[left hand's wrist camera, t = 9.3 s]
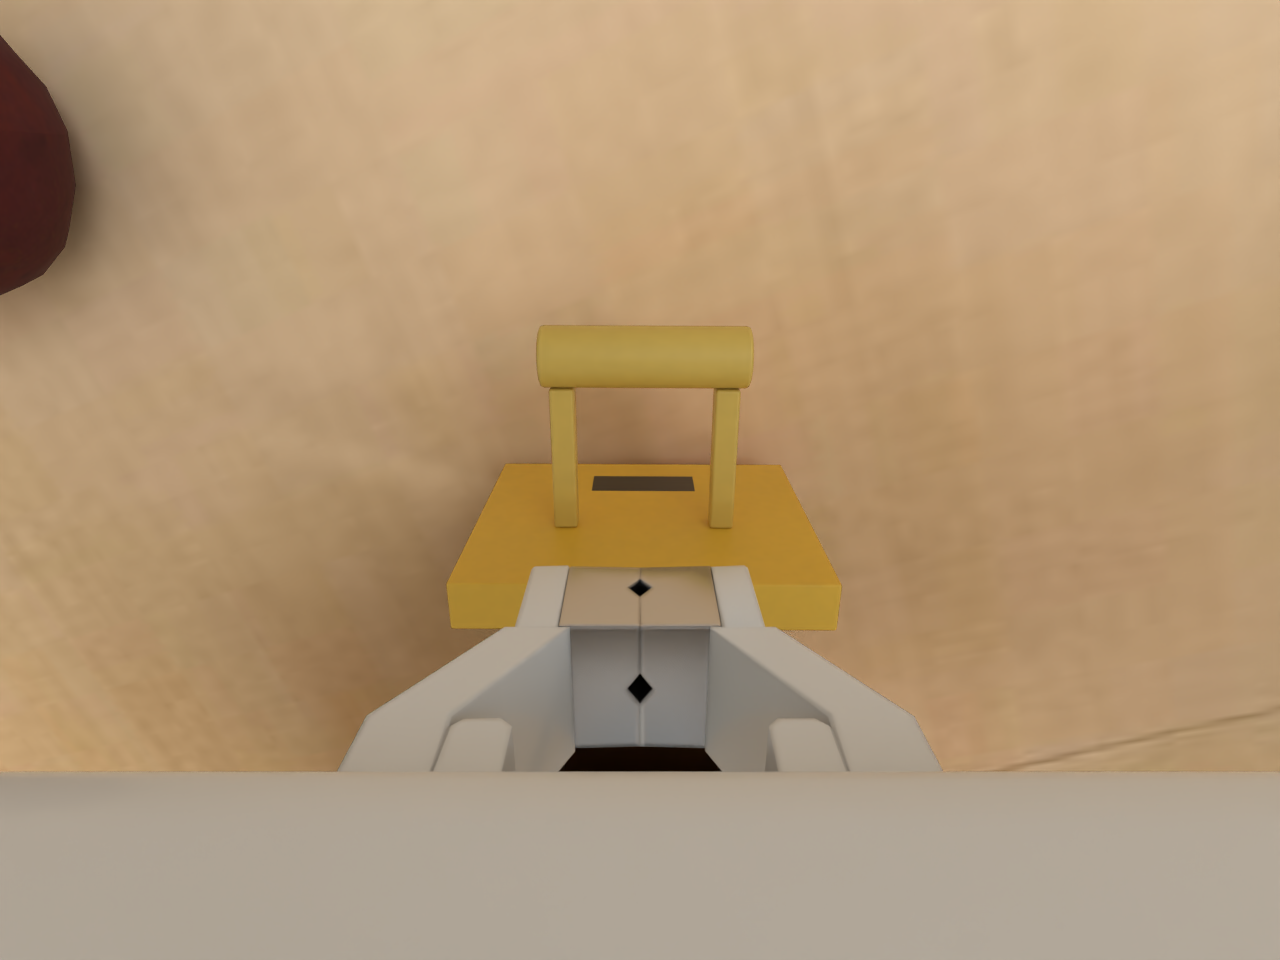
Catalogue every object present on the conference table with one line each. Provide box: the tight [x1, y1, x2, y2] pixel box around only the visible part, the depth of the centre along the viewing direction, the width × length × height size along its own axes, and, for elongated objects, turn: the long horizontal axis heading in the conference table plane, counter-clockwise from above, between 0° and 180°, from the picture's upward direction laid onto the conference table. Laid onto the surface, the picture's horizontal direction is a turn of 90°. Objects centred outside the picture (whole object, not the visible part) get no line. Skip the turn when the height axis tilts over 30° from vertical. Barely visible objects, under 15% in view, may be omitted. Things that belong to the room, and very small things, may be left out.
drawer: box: [446, 325, 842, 772], centre depth 22 cm, size 24×9×8 cm, turn 0°
